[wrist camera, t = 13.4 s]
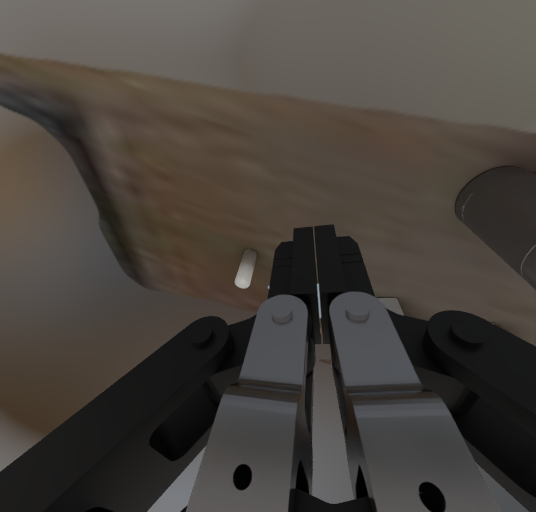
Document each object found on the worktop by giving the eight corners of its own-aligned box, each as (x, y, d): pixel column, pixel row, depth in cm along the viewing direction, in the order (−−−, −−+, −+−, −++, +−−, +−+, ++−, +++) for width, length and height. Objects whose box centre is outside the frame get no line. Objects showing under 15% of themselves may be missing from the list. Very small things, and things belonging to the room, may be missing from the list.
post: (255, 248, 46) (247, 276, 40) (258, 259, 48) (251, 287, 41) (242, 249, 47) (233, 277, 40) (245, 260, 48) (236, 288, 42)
